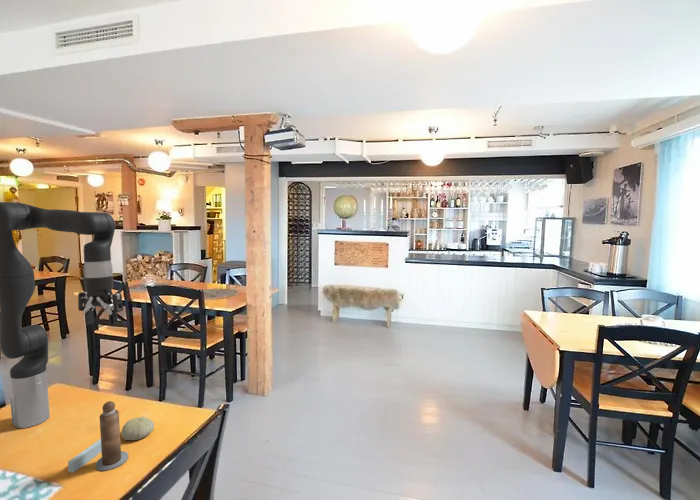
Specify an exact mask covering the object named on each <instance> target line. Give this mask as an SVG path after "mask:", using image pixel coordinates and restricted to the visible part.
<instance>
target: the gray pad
mask: <svg viewBox="0 0 700 500" xmlns="http://www.w3.org/2000/svg"><path fill="white" fill-rule="evenodd" d="M128 459H129V452H127V451H124V450H121V459H120V461H118V462H117V463H115V464H113V465H109V466H105V465H103V464H102V456H101V457H100V458H99V459H98V460H97V461H96V462H95V469H96V470H98V471H100V472H101V471H102V472H107V471H112V470H115V469H117V468H118V467H119V468H120V466H122V465H124V464H125V463H126V462H128Z"/></svg>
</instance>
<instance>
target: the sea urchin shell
mask: <svg viewBox="0 0 700 500" xmlns="http://www.w3.org/2000/svg"><path fill="white" fill-rule="evenodd" d="M154 429H155V423H154V421H153V420H152V419H150V418H149V417H147V416H146V417H145V416H139V417H138V416H137V417H134V418H131V419H129V420H128V421H126V422H125V424H124V425H123V426H122V429H121V430H120V436H121V437H122V439H124V441H137V440H141V439H142V440H143V438H145V437H147V436H149V435H150V434H151V433H152V432H153V431H154Z"/></svg>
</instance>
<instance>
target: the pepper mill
mask: <svg viewBox="0 0 700 500" xmlns="http://www.w3.org/2000/svg"><path fill="white" fill-rule="evenodd" d="M120 429H121V428H120V412H119V410H117V409H116V403H115V402H114V401H113V400H112V401H105V403H103V405H102V413H101V414H100V415H99V432H100V439H101V449H102V452H101V457H102V464H103V465H105V466H109V465H113V464H115V463H117V462H118V461H120V459H121V451H122V448H121V447H122V445H121V430H120Z"/></svg>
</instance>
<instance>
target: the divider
mask: <svg viewBox="0 0 700 500" xmlns="http://www.w3.org/2000/svg"><path fill="white" fill-rule="evenodd" d="M100 453H102V449H101V438H99V439H98V440H96V441H95V442H94V443H92V444H91V445H89V446H88V447H87V448H86V449H84V450H82V451H81V452H80V453H78V454H77V455H75V456H74V457H73V458H70V460H69V461H67V466H68V467H67V468H68V473H72V474H74V473H76V472H77V471H78V470H79V469H80V468H82V467H84V466H85V465H86V464H87V463H89V462H90V461H91V460H92V459H94V458H96V457H97V456H98V455H99V454H100Z"/></svg>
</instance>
